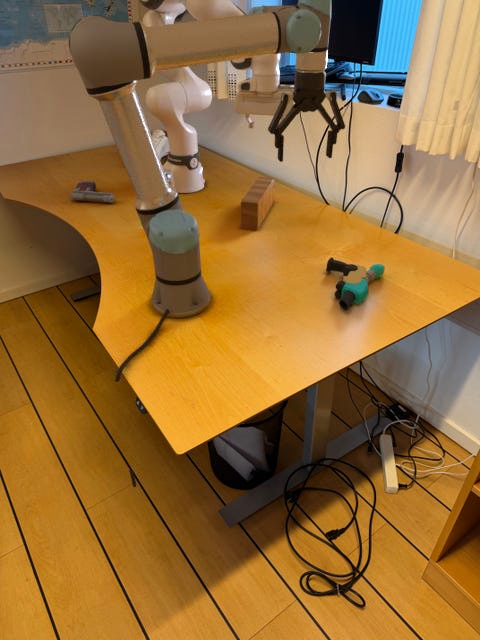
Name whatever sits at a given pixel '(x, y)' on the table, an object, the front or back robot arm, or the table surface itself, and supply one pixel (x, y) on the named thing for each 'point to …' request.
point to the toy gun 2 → (353, 281)
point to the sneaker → (161, 142)
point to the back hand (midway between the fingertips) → (264, 128)
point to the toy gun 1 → (90, 193)
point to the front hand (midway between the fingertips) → (304, 158)
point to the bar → (257, 203)
